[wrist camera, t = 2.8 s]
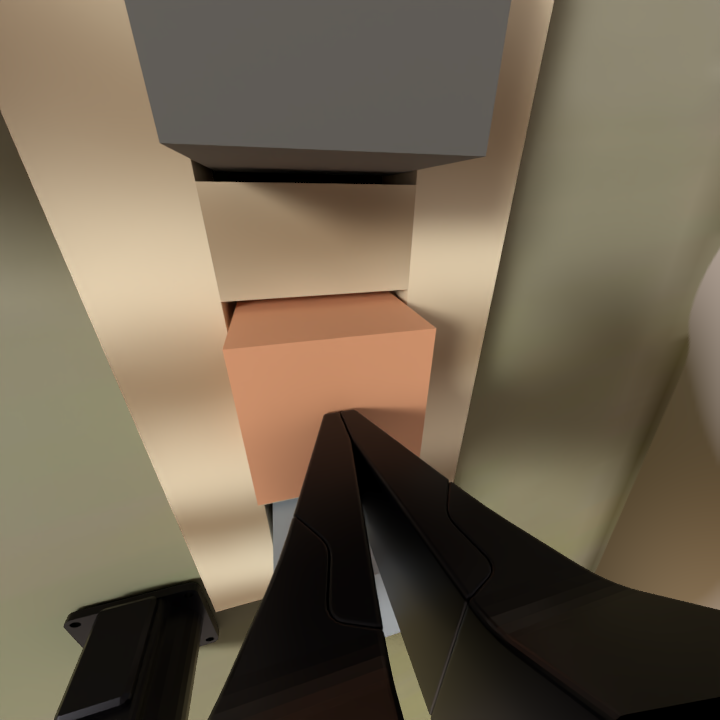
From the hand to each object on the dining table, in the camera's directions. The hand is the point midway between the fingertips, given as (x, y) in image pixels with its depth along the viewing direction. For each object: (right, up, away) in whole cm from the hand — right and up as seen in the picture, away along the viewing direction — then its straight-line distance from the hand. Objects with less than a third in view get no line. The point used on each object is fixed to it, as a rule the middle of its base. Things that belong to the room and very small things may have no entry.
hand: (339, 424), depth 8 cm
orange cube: (-1, +2, +4) cm, 5 cm away
